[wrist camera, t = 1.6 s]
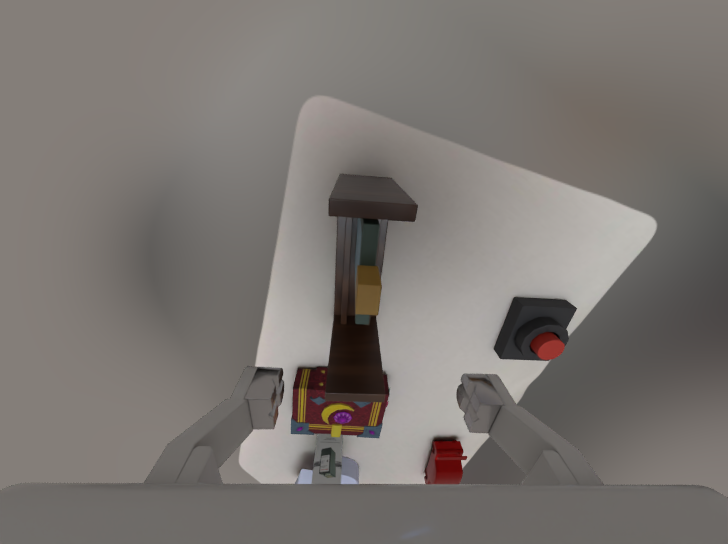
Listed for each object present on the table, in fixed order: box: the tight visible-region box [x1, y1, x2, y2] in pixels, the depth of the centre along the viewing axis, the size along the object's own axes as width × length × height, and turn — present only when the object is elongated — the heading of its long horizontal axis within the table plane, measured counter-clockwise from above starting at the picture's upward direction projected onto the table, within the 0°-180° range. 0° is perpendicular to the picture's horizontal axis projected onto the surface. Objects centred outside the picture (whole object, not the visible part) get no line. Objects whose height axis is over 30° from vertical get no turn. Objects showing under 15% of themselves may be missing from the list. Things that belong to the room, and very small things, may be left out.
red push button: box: [530, 332, 564, 360], centre depth 37 cm, size 4×4×2 cm
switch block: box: [494, 297, 577, 361], centre depth 39 cm, size 10×8×4 cm
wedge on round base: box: [295, 457, 359, 484], centre depth 54 cm, size 9×7×13 cm
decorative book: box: [291, 367, 390, 438], centre depth 44 cm, size 11×16×5 cm
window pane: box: [355, 218, 382, 324], centre depth 24 cm, size 9×2×15 cm, turn 175°
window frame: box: [325, 174, 418, 403], centre depth 28 cm, size 20×6×14 cm, turn 175°
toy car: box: [424, 440, 467, 484], centre depth 54 cm, size 14×6×5 cm, turn 177°
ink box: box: [311, 434, 343, 484], centre depth 47 cm, size 9×5×12 cm, turn 174°
